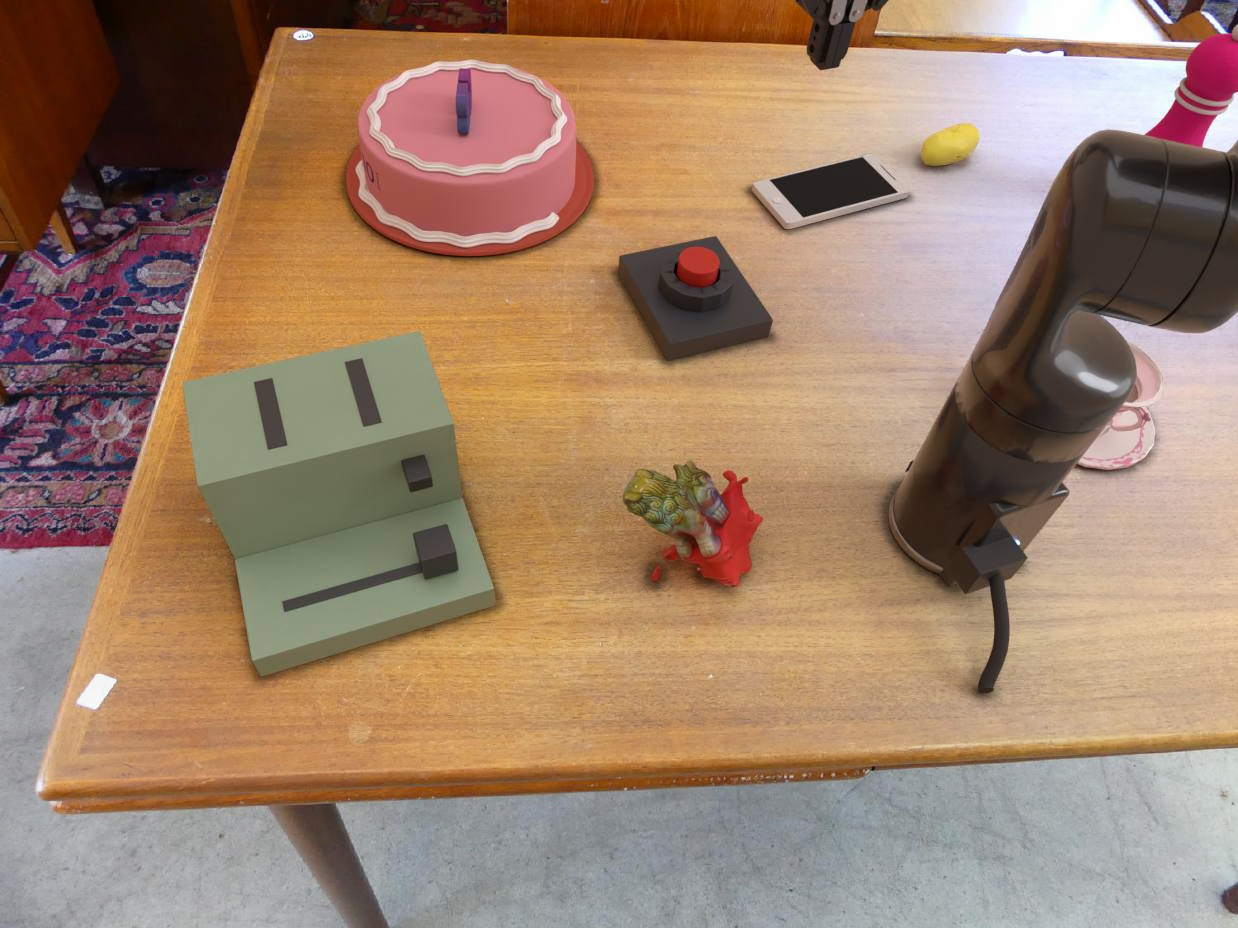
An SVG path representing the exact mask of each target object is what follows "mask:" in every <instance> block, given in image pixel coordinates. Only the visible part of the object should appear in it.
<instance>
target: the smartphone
mask: <svg viewBox="0 0 1238 928" xmlns="http://www.w3.org/2000/svg"><path fill="white" fill-rule="evenodd" d="M910 191H911V189H910V188H909V186H907V185H906V184H905V183H904V182H903V181H902V180H901V179H900V177H898V176H897V175H896V173H894V172H893V171H892V170H891V169H890V168H889V167H888V166H887V165H886V164H884V162H883V161H882V160H881V159H880V158H878V156H876V155H875V154H874V153H867V154H863V155H859V156H854V157H850V158H846V159H843V160H838V161H835V162H829V163H826V164H822V165H818V166H814V167H810V168H806V169H802V170H798V171H793V172H790V173H786V174H782V175H777V176H774V177H769V178H765V179H761V180H758V181H755V182H753V183H752V186H751V192H752V193H753V194H754V195H755V196H756V198H757V199H758V200H759V201H760V203H762V204H763V206H764V207H765V208H766V209H767V210H768V212H770V214H771V215H772V216H773V217H774V218H775V220H777V222H778V223H779V224H780V225H781V226H782V228H783V229H785V230H791V229H795V228H800V227H802V226H807V225H810V224H814V223H818V222H821V221H824V220H828V219H832V218H837V217H840V216H844V215H847V214H848V215H849V214H852V213H856V212H860V211H862V210H867V209H870V208H874V207H877V206H882V205H885V204H889V203H893V202H896V201H900V200H904V199H906V198H908V196H909V194H910Z"/></svg>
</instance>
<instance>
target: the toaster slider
mask: <svg viewBox="0 0 1238 928" xmlns="http://www.w3.org/2000/svg"><path fill="white" fill-rule="evenodd" d="M413 538H414V543H415V548H416V553H417V556H418V559H419V563H420V566H421V569H422V573H423V576H424V579H425V580H427V579H430V578H434V577H437V576H441V575H444V574H447V573H451V572H454V571H458V570H459V567H458V559H457V552H456V548H455V545H454V542H453V539H452V536H451V533H450V530H449V527H448V525H447V524H444V525H440V526H437V527H433V528H429V529H426V530H422V531H419V532H415V533H413Z"/></svg>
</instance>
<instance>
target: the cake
mask: <svg viewBox="0 0 1238 928" xmlns="http://www.w3.org/2000/svg"><path fill="white" fill-rule="evenodd" d="M576 122H577V121H576V116H575V113H574V110H573V108H572V105H571V104H570V103H569V101H568V99H567V98H566V97H565V95H564V94H563V93H562V92H560V91H559V90H558V89H557V88H556V87H555V86H554V85H552V84H551V83H550V82H548V81H546V80H545V79H543V78H541V77H539V76H537V75H536V74H533V73H531V72H528V71H525V70H522V69H521V68H517V67H512V66H511V65H509V64H503V63H494V62H485V61H481V60H477V59H467V60H466V59H465V60H456V61H435V62H432V63H430V64H426V65H422V66H418V67H415V68H411V69H407V70H405V71H403V72H401V73H398V74H396V75H395V76H392V77H391V78H389V79H387V80H385V81H384V82H382V83H381V84H379V85H378V86H377V87H375V88H374V89H373V90H372V91H371V92H370V94H369V95H368V96H367V97H366V98H365V100H364V101H363V103H362V105H361V107H360V109H359V112H358V116H357V136H358V143H359V144H358V146H356V148H355V150H354V151H353V152H352V155H351V156H350V159H349V161H348V163H347V168H346V175H345V186H346V192H347V195H348V199H349V201H350V203H351V205H352V206H353V208H354V210H355V212H357V214H358V215H359V217H361V218H362V220H364V222H365V223H367V224H368V225H369V226H370V227H372V229H374V230H375V231H377V232H379V233H380V234H381V235H383V236H385V237H386V238H388V239H391V240H393V241H395V242H397V243H400V244H402V245H405V246H407V247H410V248H412V249H413V248H414V249H417V250H419V251H425V252H429V253H434V254H440V255H447V256H459V257H480V256H481V257H482V256H483V257H484V256H493V255H501V254H506V253H512V252H515V251H516V252H517V251H521V250H524V249H528V248H530V247H534V246H536V245H538V244H541V243H543V242H546V241H548V240H550V239H552V238H554V237H555V236H557V235H558V234H561V233H562V232H563V231H565V230H566V229H568V228H569V227H570V226H571V225H572V224H574V223H575V222H576V221H577V220H578V219H579V218H580V217H581V215H582V214H583V213H584V211H585V210H586V209H587V207H588V205H589V203H590V201H591V199H592V196H593V193H594V187H595V176H594V169H593V165H592V163H591V160H590V158H589V156H588V153H587V151H586V150H585V149H584V147H583V146H582V145H581V144H580V143H579V142H578V141H577V123H576Z"/></svg>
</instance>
